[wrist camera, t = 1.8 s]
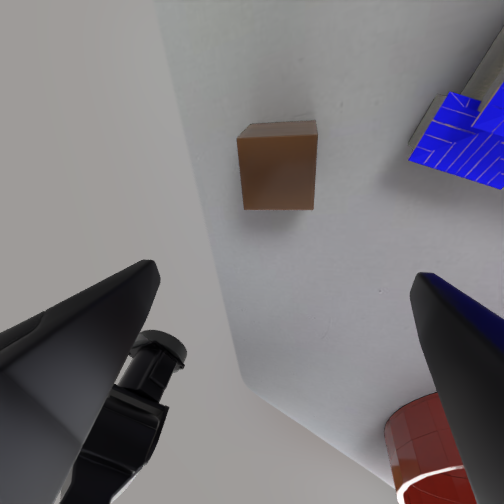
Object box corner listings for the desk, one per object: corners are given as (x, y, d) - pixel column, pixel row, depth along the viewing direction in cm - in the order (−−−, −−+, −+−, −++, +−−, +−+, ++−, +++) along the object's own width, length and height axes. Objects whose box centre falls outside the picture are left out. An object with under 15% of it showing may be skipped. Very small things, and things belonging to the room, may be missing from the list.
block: (312, 184, 18) (313, 210, 15) (254, 185, 19) (243, 210, 16) (315, 119, 16) (318, 133, 13) (250, 123, 16) (236, 137, 13)
